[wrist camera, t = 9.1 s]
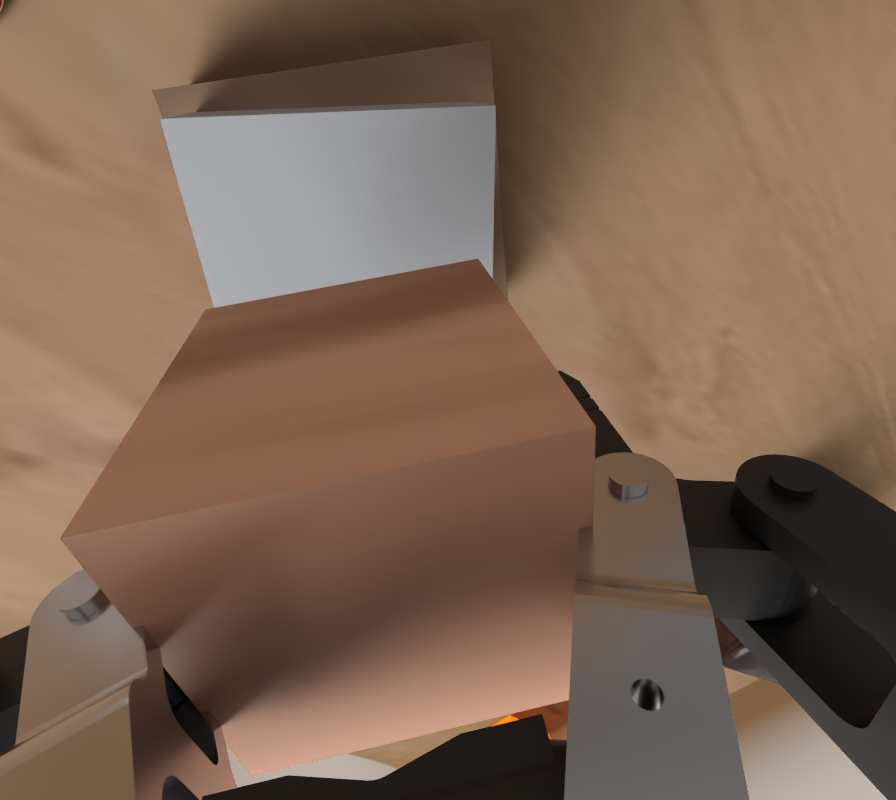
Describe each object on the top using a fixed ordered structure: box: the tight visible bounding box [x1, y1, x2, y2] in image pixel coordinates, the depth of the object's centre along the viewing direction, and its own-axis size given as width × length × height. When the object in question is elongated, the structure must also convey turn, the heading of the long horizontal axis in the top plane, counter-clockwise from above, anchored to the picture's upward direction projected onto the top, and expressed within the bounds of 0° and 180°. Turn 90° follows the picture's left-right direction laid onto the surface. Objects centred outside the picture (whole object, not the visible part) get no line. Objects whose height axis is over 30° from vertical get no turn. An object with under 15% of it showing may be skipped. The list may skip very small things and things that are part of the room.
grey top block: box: [160, 101, 496, 308], centre depth 20 cm, size 10×10×4 cm
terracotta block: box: [60, 259, 596, 776], centre depth 9 cm, size 6×6×6 cm
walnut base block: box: [152, 39, 508, 300], centre depth 23 cm, size 12×12×5 cm
